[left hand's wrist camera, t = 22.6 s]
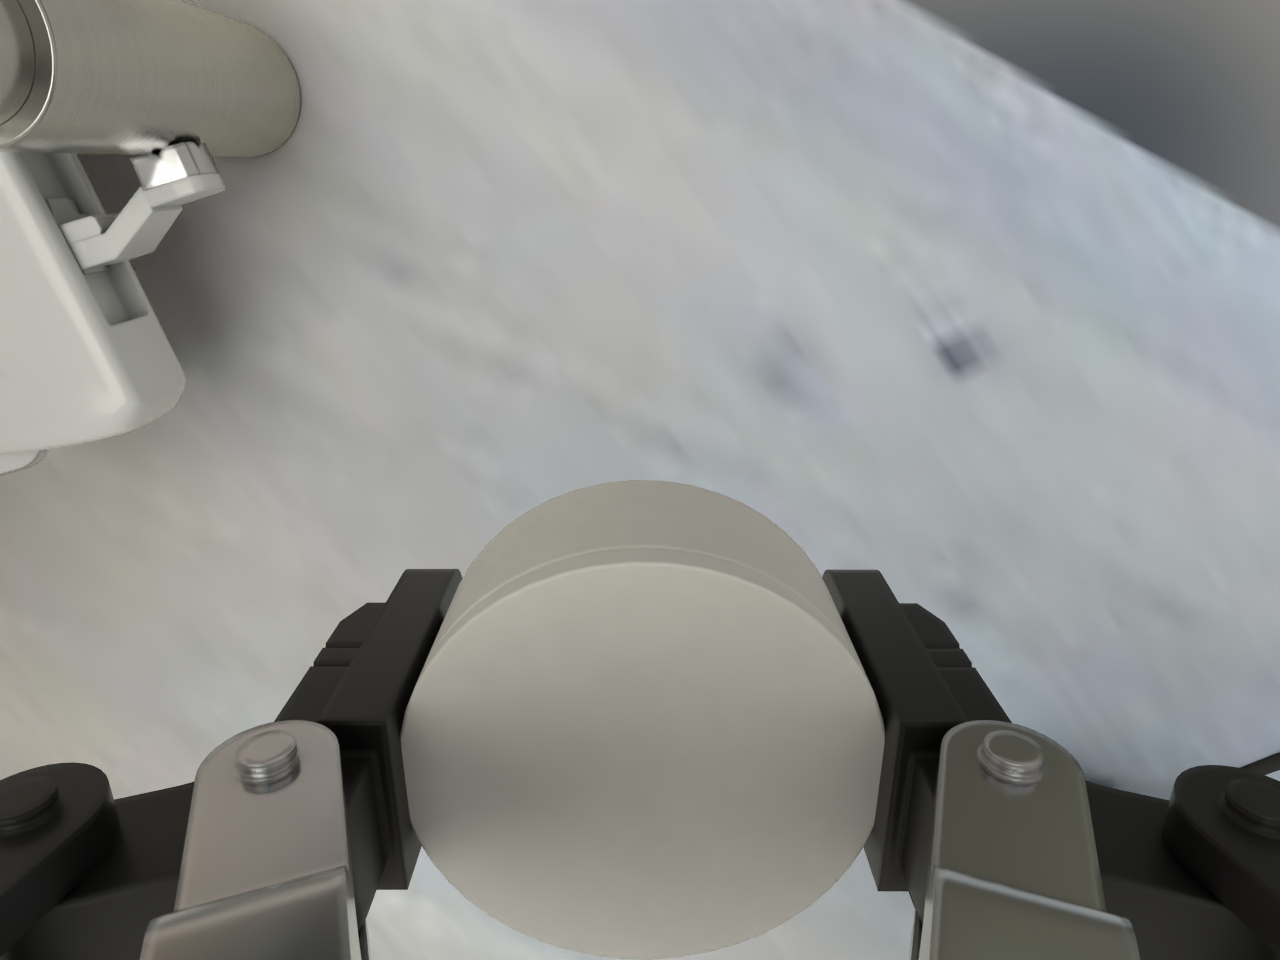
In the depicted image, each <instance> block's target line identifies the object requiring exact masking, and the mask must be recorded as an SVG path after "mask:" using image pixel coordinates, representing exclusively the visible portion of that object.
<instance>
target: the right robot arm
mask: <svg viewBox="0 0 1280 960" xmlns="http://www.w3.org/2000/svg"><path fill="white" fill-rule="evenodd" d="M130 161H131V163H132V165H133V168H134V170H135V172H136V174H137V177H138V179H139V181H140V184H141V186H142V187H139V188H138V190H137V191H136V192H135V194H134V195H133V196H132V198H131V199H130V200H129V202H128V203H127V204H126V206H125V207H124V208H123V210H122V211H121V212H120V213H116V214H106V213H105V211H104V209H103V207H102V205H101V203H100V201H99V199H98V197H97V195H96V193H95V191H94V188H93V186H92V184H91V182H90V180H89V178H88V176H87V174H86V172H85V170H84V168H83V166H82V164H81V162H80V160H79V158H78V156H77V154H74V153H29V152H0V476H2V475H5V474H9V473H12V472H16V471H19V470H22V469H26V468H29V467H31V466H33V465H35V464H37V463H38V462H39V461H41V460H42V459H43V458H44V456H45V455H46V454H47V452H48V450H49V449H54V448H61V447H67V446H73V445H78V444H83V443H89V442H93V441H97V440H102V439H106V438H110V437H114V436H118V435H121V434H125V433H127V432H130V431H132V430H135V429H137V428H140V427H142V426H144V425H146V424H148V423H151V422H153V421H155V420H157V419H159V418H160V417H162V416H164V415H165V414H167V413H169V412H170V411H171V410H173V408H174V407H175V405H176V404H177V402H178V400H179V398H180V396H181V394H182V392H183V390H184V388H185V386H186V377H185V374H184V372H183V370H182V367H181V365H180V363H179V361H178V359H177V357H176V355H175V353H174V351H173V349H172V347H171V345H170V343H169V341H168V339H167V337H166V335H165V333H164V331H163V329H162V327H161V325H160V323H159V321H158V319H157V317H156V315H155V313H154V311H153V309H152V307H151V305H150V303H149V301H148V299H147V297H146V294H145V292H144V290H143V288H142V286H141V284H140V282H139V280H138V278H137V276H136V274H135V272H134V270H133V268H132V266H131V264H130V262H129V260H131V259H134V258H137V257H140V256H143V255H146V254H149V253H152V252H154V251H155V249H156V248H157V246H158V245H159V243H160V242H161V240H162V239H163V237H164V236H165V234H166V233H167V232H168V230H169V229H170V227H171V226H172V224H173V223H174V221H175V220H176V218H177V217H178V215H179V214H180V213H181V211H182V210H183V208H182V205H183V204H186V203H189V202H192V201H196V200H199V199H202V198H205V197H208V196H211V195H214V194H217V193H220V192H222V191H224V190H226V188H225V186H224V184H223V181H222V179H221V177H220V174H219V172H218V170H217V168H216V165H215V163H214V161H213V158H212V156H211V154H210V152H209V149H208V147H207V145H206V143H201V142H200V143H197V144H195V143H194V142H182V143H178V144H173V145H170V146H167V147H164V148H162V150H161V151H160V153H147V154H142V155H139V156H136V157H133V158H130Z"/></svg>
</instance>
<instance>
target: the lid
mask: <svg viewBox="0 0 1280 960" xmlns="http://www.w3.org/2000/svg"><path fill="white" fill-rule="evenodd" d="M400 739H401V749H402V758H403V766H404V774H405V782H406V790H407V798H408V806H409V814H410V820H411V825H412V827H413V829H414V831H415V834H416V836H417V838H418V840H419V842H420V843H421V845H422V847H423V848H424V850H425V851H426V853H427V855H428V856H429V858H430V859H431V861H432V862H433V864H434V865H435V866H436V867H437V868H438V870H439V871H440V872H441V873H442V874H443V876H444V877H445V878H446V879H447V880H448V882H449V883H451V884H452V885H453V886H454V887H455V888H456V889H457V890H458V891H459V892H460V893H461V894H462V895H463V896H464V897H466V898H467V899H468V900H469V901H470V902H472V903H473V904H474V905H476V906H477V907H479V908H480V909H481V910H483V911H484V912H485V913H487V914H488V915H490V916H491V917H493V918H495V919H496V920H498V921H500V922H502V923H503V924H505V925H507V926H509V927H510V928H512V929H514V930H516V931H518V932H521V933H523V934H525V935H528V936H530V937H532V938H534V939H537V940H539V941H542V942H545V943H548V944H551V945H554V946H558V947H561V948H564V949H567V950H572V951H577V952H581V953H586V954H591V955H596V956H605V957H614V958H623V959H659V958H671V957H682V956H688V955H693V954H699V953H705V952H710V951H713V950H717V949H721V948H724V947H728V946H731V945H735V944H738V943H740V942H743V941H745V940H748V939H750V938H753V937H756V936H758V935H761V934H763V933H765V932H767V931H769V930H771V929H773V928H775V927H776V926H778V925H780V924H782V923H784V922H786V921H788V920H789V919H791V918H792V917H794V916H795V915H797V914H798V913H800V912H801V911H803V910H804V909H806V908H807V907H809V906H810V905H811V904H813V903H814V902H815V901H816V900H817V899H818V898H820V897H821V896H822V895H823V894H824V893H825V892H827V891H828V890H829V889H830V888H831V887H832V886H833V885H834V884H835V883H836V882H837V880H838V879H839V878H840V877H841V876H842V875H843V874H844V873H845V872H846V871H847V869H848V868H849V867H850V866H851V864H852V863H853V861H854V860H855V858H856V857H857V855H858V854H859V852H860V851H861V850H862V848H863V847H864V845H865V843H866V841H867V839H868V837H869V835H870V833H871V831H872V829H873V826H874V821H875V814H876V806H877V798H878V790H879V783H880V775H881V767H882V759H883V751H884V743H885V727H884V721H883V717H882V714H881V711H880V708H879V705H878V702H877V700H876V697H875V694H874V691H873V689H872V687H871V684H870V682H869V680H868V678H867V676H866V674H865V671H864V669H863V667H862V664H861V662H860V660H859V658H858V655H857V653H856V651H855V649H854V646H853V644H852V642H851V640H850V637H849V635H848V633H847V631H846V628H845V626H844V624H843V622H842V619H841V617H840V615H839V613H838V610H837V608H836V606H835V604H834V601H833V599H832V597H831V595H830V592H829V590H828V588H827V586H826V585H825V583H824V581H823V579H822V577H821V575H820V573H819V571H818V570H817V568H816V567H815V565H814V564H813V563H812V561H811V560H810V559H809V557H808V556H807V555H806V553H805V552H804V551H803V549H802V548H801V547H800V546H799V545H798V544H797V543H796V542H795V541H794V540H793V539H792V538H791V537H790V536H789V535H788V534H787V533H786V532H785V531H783V530H782V529H781V528H780V527H778V526H777V525H776V524H774V523H773V522H772V521H770V520H769V519H768V518H767V517H765V516H764V515H762V514H760V513H758V512H757V511H755V510H753V509H752V508H750V507H748V506H746V505H745V504H743V503H741V502H739V501H736V500H734V499H731V498H729V497H726V496H724V495H722V494H719V493H717V492H713V491H710V490H706V489H702V488H699V487H695V486H691V485H686V484H679V483H672V482H665V481H639V480H632V481H622V482H612V483H604V484H599V485H595V486H591V487H586V488H582V489H578V490H575V491H572V492H569V493H567V494H564V495H561V496H559V497H556V498H553V499H551V500H549V501H547V502H545V503H543V504H541V505H539V506H537V507H535V508H533V509H531V510H530V511H528V512H526V513H525V514H523V515H522V516H520V517H519V518H518V519H516V520H515V521H513V522H512V523H511V524H509V525H508V526H506V527H505V528H504V529H503V530H502V531H501V532H500V533H499V534H498V535H496V536H495V537H494V538H493V539H492V540H491V541H490V542H489V543H488V544H487V545H486V546H485V547H484V549H483V550H482V551H481V552H480V554H479V555H478V556H477V557H476V559H475V560H474V561H473V562H472V563H471V565H470V567H469V568H468V570H467V572H466V574H465V575H464V577H463V579H462V580H461V582H460V584H459V586H458V588H457V590H456V593H455V595H454V597H453V600H452V602H451V604H450V607H449V609H448V611H447V614H446V616H445V618H444V621H443V623H442V625H441V627H440V630H439V632H438V634H437V637H436V639H435V641H434V644H433V646H432V648H431V651H430V653H429V655H428V658H427V660H426V662H425V665H424V667H423V670H422V671H421V674H420V676H419V678H418V681H417V683H416V685H415V688H414V690H413V693H412V695H411V698H410V700H409V703H408V705H407V708H406V710H405V714H404V719H403V723H402V728H401V734H400Z"/></svg>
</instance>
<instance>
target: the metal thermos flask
mask: <svg viewBox="0 0 1280 960" xmlns="http://www.w3.org/2000/svg"><path fill="white" fill-rule="evenodd" d="M299 111H300V90H299V84H298V81H297V77H296V74H295V71H294V69H293V67H292V65H291V63H290V61H289V59H288V57H287V56H286V55H285V53H284V52H283V50H282V49H281V48H280V47H279V46H278V44H277V43H276V42H275V41H274V40H272V39H271V38H270V37H269V36H268V35H266V34H265V33H264V32H262V31H260V30H259V29H257V28H255V27H253V26H250V25H248V24H246V23H243V22H240V21H237V20H234V19H231V18H228V17H226V16H223V15H220V14H217V13H214V12H211V11H209V10H206V9H203V8H200V7H197V6H194V5H192V4H189V3H186V2H183V1H180V0H0V152H29V153H74V154H120V155H142V154H147V153H160V151H161V150H162V148H164V147H167V146H170V145H173V144H178V143H182V142H194V143H195V144H197V143H200V142H201V143H206V145H207V147H208V149H209V152H210V154H211V156H212V157H257V156H262V155H265V154H268V153H270V152H272V151H274V150H276V149H277V148H278V147H280V146H281V145H282V144H283V143H284V142H285V141H286V140H287V139H288V138H289V136H290V135H291V133H292V132H293V130H294V128H295V125H296V123H297V120H298V116H299Z"/></svg>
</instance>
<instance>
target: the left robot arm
mask: <svg viewBox="0 0 1280 960" xmlns="http://www.w3.org/2000/svg"><path fill="white" fill-rule="evenodd" d="M822 579H823V581H824V583H825V585H826V586H827V588H828V590H829V592H830V595H831V597H832V599H833V601H834V604H835V606H836V608H837V610H838V613H839V615H840V617H841V619H842V622H843V624H844V626H845V628H846V631H847V633H848V635H849V637H850V640H851V642H852V644H853V646H854V649H855V651H856V653H857V655H858V658H859V660H860V662H861V664H862V667H863V669H864V671H865V674H866V676H867V678H868V680H869V682H870V684H871V687H872V689H873V691H874V694H875V697H876V700H877V702H878V705H879V708H880V711H881V714H882V717H883V721H884V727H885V743H884V751H883V759H882V767H881V775H880V783H879V790H878V798H877V806H876V814H875V821H874V826H873V829H872V831H871V833H870V835H869V837H868V839H867V841H866V843H865V845H864V849H865V853H866V856H867V859H868V862H869V865H870V868H871V871H872V874H873V877H874V880H875V883H876V886H877V889H878V891H909V894H910V897H911V899H912V902H913V905H914V907H915V915H914V922H913V928H912V935H911V944H910V954H909V960H1280V781H1277V780H1275V779H1272V778H1270V777H1267V776H1265V775H1266V774H1269V773H1272V772H1275V771H1278V770H1280V753H1277V754H1274V755H1271V756H1269V757H1266V758H1264V759H1261V760H1259V761H1256V762H1254V763H1251V764H1249V765H1246V766H1244V767H1241V768H1235V767H1229V766H1221V765H1205V766H1197V767H1193V768H1190V769H1188V770H1186V771H1184V772H1182V773H1181V774H1180V775H1179V776H1178V777H1177V779H1176V781H1175V784H1174V787H1173V791H1172V794H1171V798H1170V801H1168V800H1164V799H1159V798H1154V797H1150V796H1145V795H1140V794H1136V793H1131V792H1126V791H1122V790H1117V789H1112V788H1108V787H1104V786H1101V785H1097V784H1094V783H1091V782H1088V781H1085V777H1084V774H1083V770H1082V769H1081V767H1080V765H1079V763H1078V762H1077V761H1076V759H1075V758H1074V757H1073V756H1072V755H1071V754H1070V753H1069V752H1068V751H1067V750H1066V749H1065V748H1064V747H1062V746H1061V745H1059V744H1058V743H1057V742H1055V741H1054V740H1052V739H1050V738H1048V737H1047V736H1045V735H1043V734H1041V733H1039V732H1036V731H1034V730H1032V729H1029V728H1026V727H1023V726H1020V725H1016V724H1012V722H1011V721H1010V719H1009V718H1008V716H1007V715H1006V713H1005V712H1004V710H1003V709H1002V707H1001V706H1000V704H999V703H998V701H997V700H996V698H995V697H994V696H993V694H992V693H991V691H990V690H989V688H988V687H987V685H986V684H985V682H984V681H983V679H982V678H981V676H980V675H979V673H978V672H977V670H976V669H975V668H972V663H971V661H970V660H969V658H968V657H967V655H966V654H965V652H964V651H963V649H960V648H959V643H958V642H957V640H956V639H955V637H954V636H953V634H952V633H951V631H950V630H949V628H948V627H947V625H946V624H945V622H943V621H942V620H940V619H939V618H937V617H936V616H934V615H933V614H932V613H930V612H929V611H927V610H926V609H924V608H923V607H921V606H920V605H919V604H899V603H898V601H897V599H896V598H895V596H894V594H893V593H892V591H891V589H890V588H889V586H888V584H887V582H886V581H885V579H884V577H883V576H882V574H881V573H880V571H878V570H826V571H825V572H824V574H823V577H822ZM461 580H462V576H461V573H460V571H459V570H458V569H407V570H405V571H404V573H403V574H402V576H401V578H400V579H399V581H398V583H397V585H396V586H395V588H394V590H393V591H392V593H391V595H390V597H389V598H388V600H387V602H386V603H366V604H365V605H364V606H362V607H361V608H359V609H358V610H356V611H355V612H353V613H352V614H351V615H349V616H348V617H346V618H345V619H343V620H342V621H340V623H339V624H338V626H337V627H336V629H335V630H334V632H333V633H332V635H331V636H330V638H329V639H328V641H327V643H326V648H323V649H322V650H321V652H320V653H319V655H318V656H317V658H316V659H315V661H314V666H313V667H310V668H309V670H308V671H307V673H306V674H305V676H304V677H303V679H302V680H301V682H300V683H299V685H298V686H297V688H296V689H295V691H294V692H293V694H292V695H291V697H290V699H289V700H288V702H287V703H286V705H285V706H284V708H283V709H282V711H281V712H280V714H279V715H278V717H277V718H276V720H275V721H274V722H272V723H268V724H264V725H260V726H257V727H254V728H251V729H248V730H246V731H244V732H241V733H239V734H237V735H235V736H233V737H232V738H230V739H228V740H226V741H225V742H223V743H222V744H221V745H219V746H218V747H216V748H215V749H214V750H213V751H212V752H211V753H210V754H209V755H208V756H207V757H206V758H205V759H204V761H203V762H202V763H201V765H200V767H199V769H198V770H197V774H196V777H195V782H192V783H188V784H184V785H180V786H176V787H172V788H167V789H163V790H158V791H153V792H149V793H144V794H139V795H135V796H130V797H125V798H121V799H116V800H114V799H113V795H112V792H111V788H110V785H109V781H108V779H107V777H106V774H105V773H103V772H102V771H101V770H100V769H98V768H96V767H94V766H91V765H88V764H82V763H59V764H51V765H46V766H41V767H37V768H33V769H30V770H27V771H23V772H20V773H18V774H15V775H12V776H10V777H7V778H5V779H3V780H1V781H0V960H371V954H370V944H369V935H368V928H367V922H366V917H367V914H368V912H369V909H370V906H371V903H372V901H373V898H374V895H375V892H376V890H407V889H408V886H409V883H410V880H411V877H412V874H413V871H414V868H415V865H416V862H417V858H418V855H419V852H420V849H421V846H422V845H421V843H420V842H419V840H418V838H417V836H416V834H415V831H414V829H413V827H412V825H411V820H410V814H409V806H408V798H407V790H406V782H405V774H404V766H403V758H402V749H401V739H400V734H401V728H402V723H403V719H404V714H405V710H406V708H407V705H408V703H409V700H410V698H411V695H412V693H413V690H414V688H415V685H416V683H417V681H418V678H419V676H420V674H421V671H422V670H423V667H424V665H425V662H426V660H427V658H428V655H429V653H430V651H431V648H432V646H433V644H434V641H435V639H436V637H437V634H438V632H439V630H440V627H441V625H442V623H443V621H444V618H445V616H446V614H447V611H448V609H449V607H450V604H451V602H452V600H453V597H454V595H455V593H456V590H457V588H458V586H459V584H460V582H461Z"/></svg>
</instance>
